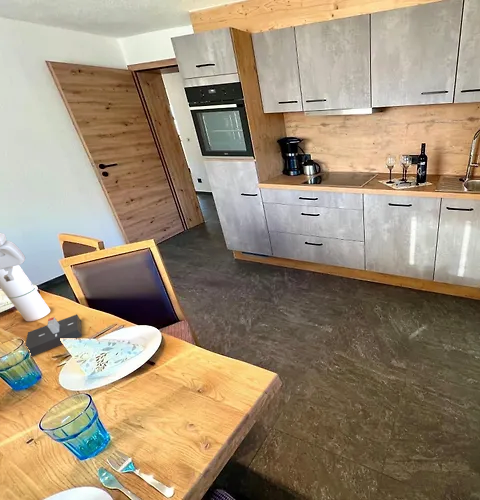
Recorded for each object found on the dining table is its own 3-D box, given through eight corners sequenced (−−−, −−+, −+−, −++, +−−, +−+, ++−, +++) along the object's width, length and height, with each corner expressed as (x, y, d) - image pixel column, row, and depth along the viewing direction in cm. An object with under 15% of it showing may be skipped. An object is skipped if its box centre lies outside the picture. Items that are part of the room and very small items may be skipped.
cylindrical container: (50, 306, 115) (12, 251, 103) (51, 314, 110) (11, 257, 98) (25, 315, 111) (-18, 259, 99) (25, 324, 106) (-20, 266, 94)
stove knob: (59, 331, 97) (53, 323, 95) (53, 334, 96) (46, 325, 94) (59, 324, 100) (53, 316, 98) (53, 327, 99) (47, 318, 97)
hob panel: (29, 357, 92) (24, 350, 90) (32, 338, 99) (27, 331, 98) (82, 336, 99) (77, 329, 97) (81, 320, 106) (76, 313, 105)
